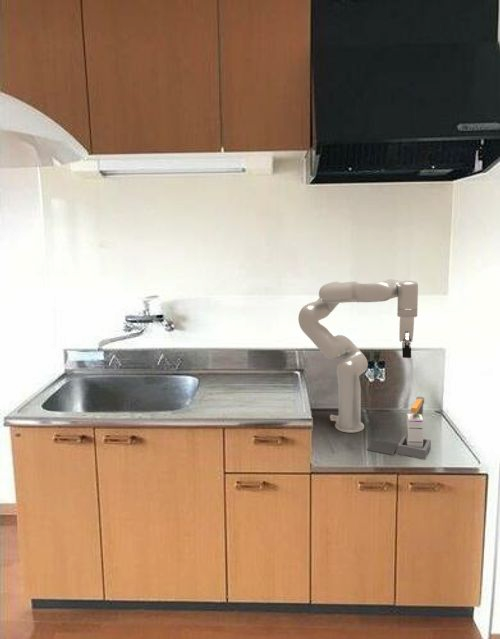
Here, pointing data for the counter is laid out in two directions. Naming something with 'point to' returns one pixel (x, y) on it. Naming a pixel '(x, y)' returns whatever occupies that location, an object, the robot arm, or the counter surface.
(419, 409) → the clip post
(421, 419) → the syrup box
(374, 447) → the mat
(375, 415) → the counter surface
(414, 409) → the bar
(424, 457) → the collar
